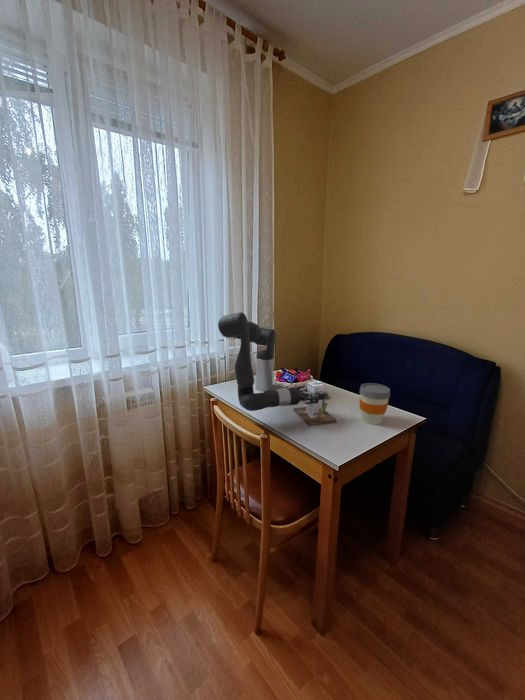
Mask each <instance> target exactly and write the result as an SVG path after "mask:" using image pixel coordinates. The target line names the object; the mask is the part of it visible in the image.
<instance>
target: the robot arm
mask: <svg viewBox="0 0 525 700" xmlns="http://www.w3.org/2000/svg"><path fill="white" fill-rule="evenodd" d="M217 323H218V324H217V327H218V331H219V333H220V334H221V336H223V337H224V338H227V339H230V338H231V339H232V338H233V339H238V340H240V347H239V352H238V354H237V356H236V359H235V362H234V374H235V379H236V383H237V397H238V398H237V399H238V401H239V402H238V403H239V405H240V406H241V407H242V408H243V409H245V410H246V411H250V412H255V411H256V412H257V411H260V410H263V409H268V408H274V407H275V408H276V407H289V406H296V405H299V403H300V402H304V404H305V405H306V404H314V403H318V400H324V401H325V400H326V399H325V394H320V395H313V394H312V393H308V392H307V387H306V386H304V385H302V386H301V385H300V386H292V387H284V388H283V387H282V388H278V389H273V382H274V355H275V343H276V331H275V329H273V328H269V327H268V328H265V327H260V325H258V324H257V323H255V322H253V321H248V319H247V316H246V315H245V313H244V312H235V313H230V314H226V315H223V316H221V317H220V319H218V322H217ZM251 343H254V344H255V345H258V346H263V347H265V346H266V348H265V349H263V350H259V351H257V352H256V358H255V359H256V360H255V362H256V363H255V364H256V365H255V366H256V369H255V378H254V372H253V366H252V361H251ZM254 385H255V389H256V390H257V391H260V392H258V393H255V391H254ZM261 391H262V392H261ZM309 395H310V397H309ZM312 396H313V397H312Z"/></svg>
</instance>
